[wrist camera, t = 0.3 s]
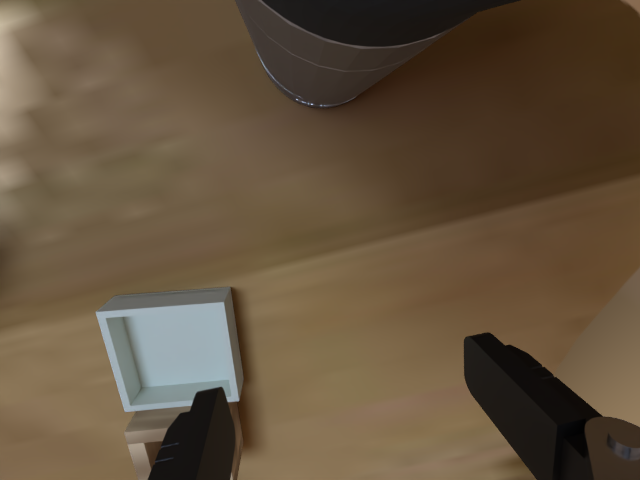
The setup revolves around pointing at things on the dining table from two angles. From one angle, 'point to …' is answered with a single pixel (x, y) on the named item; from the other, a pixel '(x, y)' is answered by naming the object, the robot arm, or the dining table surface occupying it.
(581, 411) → the robot arm
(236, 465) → the block
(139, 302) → the tray
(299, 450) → the dining table surface
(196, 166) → the dining table surface
